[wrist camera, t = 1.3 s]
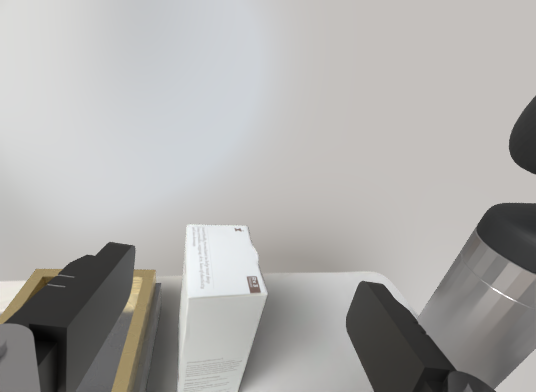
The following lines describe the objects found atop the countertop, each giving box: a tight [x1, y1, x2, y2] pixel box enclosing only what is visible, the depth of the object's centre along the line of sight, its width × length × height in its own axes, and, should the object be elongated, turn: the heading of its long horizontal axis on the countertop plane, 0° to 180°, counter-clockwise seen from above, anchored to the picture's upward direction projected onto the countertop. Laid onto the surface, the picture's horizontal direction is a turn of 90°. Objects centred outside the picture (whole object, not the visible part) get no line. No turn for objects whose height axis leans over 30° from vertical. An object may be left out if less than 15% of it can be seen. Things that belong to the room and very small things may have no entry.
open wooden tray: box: [0, 269, 161, 392], centre depth 24 cm, size 15×14×6 cm
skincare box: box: [177, 224, 268, 392], centre depth 25 cm, size 8×6×15 cm
